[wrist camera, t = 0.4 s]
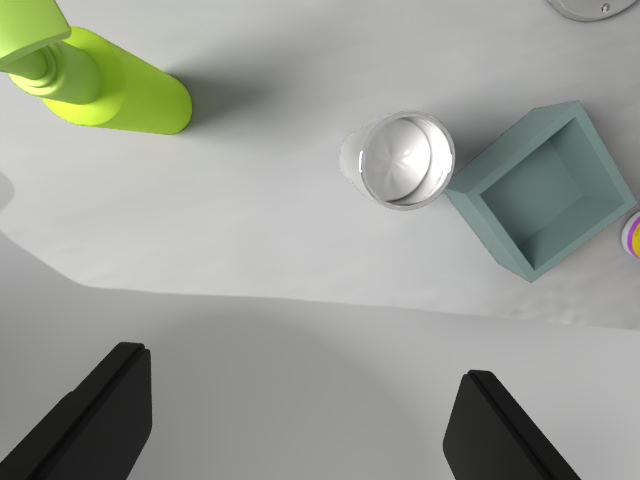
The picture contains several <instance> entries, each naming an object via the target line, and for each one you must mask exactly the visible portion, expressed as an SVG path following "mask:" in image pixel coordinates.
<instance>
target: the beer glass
mask: <svg viewBox="0 0 640 480" xmlns="http://www.w3.org/2000/svg"><path fill="white" fill-rule="evenodd" d="M338 162H339V166H340V169H341V171H342V173H343V174H344V176H345V177H346V178H347V179H349V180H350V181H351V182H352V184H353V185H354V187H355V188H356V189H357V190H358V191H359V192H360V193H361V194H362V195H363V196H365V197H366V198H368V199H369V200H371V201H373V202H375V203H377V204H380V205H383V206H385V207H387V208H390V209H393V210H399V211H408V210H414V209H418V208H421V207H423V206H425V205H427V204H429V203H430V202H432V201H433V200H434V199H436V198H437V197H438V196H439V195H440V194H441V193H442V192H443V190H444V189H445V188H446V186H447V185H448V183H449V181H450V179H451V176H452V174H453V170H454V165H455V148H454V144H453V140H452V138H451V136H450V134H449V132H448V130H447V129H446V127H445V126H444V125H443V124H442V123H441V122H440V121H439V120H437V119H436V118H435V117H433V116H431V115H429V114H427V113H424V112H419V111H402V112H397V113H390V114H386V115H382V116H379V117H377V118H374V119H372V120H371V121H369V122H367V123H366V124H365V125H363V126H362V127H361V128H360V129H359V130H357V131H355V132H353V133H351V134H350V135H349V136H347V137H346V139H345V140H344V141H343V143H342V144H341V147H340V150H339V154H338Z"/></svg>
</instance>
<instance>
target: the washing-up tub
mask: <svg viewBox="0 0 640 480" xmlns="http://www.w3.org/2000/svg"><path fill="white" fill-rule="evenodd" d="M443 192H444V193H445V194H446V196H447V197H448V198H449V200H450V201H451V202H452V204H453V205H454V206H455V207H456V209H457V210H458V211H459V213H460V214H461V215H462V217H463V218H464V219H465V221H466V222H467V223H468V225H469V226H470V227H471V228H472V230H473V231H474V232H475V234H476V235H477V236H478V238H479V239H480V240H481V242H482V243H483V244H484V246H485V247H486V248H487V250H488V251H489V252H490V253H491V255H492V256H493V257H494V259H495V260H496V261H497V263H498V264H499V265H501V266H503V267H505V268H506V269H508V270H510V271H511V272H513V273H515V274H517V275H518V276H520V277H522V278H523V279H525V280H527V281H529V282H530V283H532V282H534V281H535V280H536V279H538V278H539V277H540V276H542V275H543V274H544V273H546V272H547V271H548V270H550V269H551V268H552V267H554V266H555V265H556V264H558V263H559V262H560V261H562V260H563V259H564V258H566V257H567V256H568V255H570V254H571V253H572V252H574V251H575V250H576V249H578V248H579V247H580V246H582V245H583V244H584V243H586V242H587V241H588V240H590V239H591V238H593V237H594V236H595V235H597V234H598V233H599V232H601V231H602V230H603V229H605V228H606V227H607V226H609V225H610V224H611V223H613V222H614V221H615V220H617V219H618V218H619V217H621V216H622V215H623V214H625V213H626V212H627V211H629V210H630V209H631V208H633V207H634V206H635V205H637V204H638V203H637V201H636V199H635V198H634V196H633V194H632V192H631V190H630V189H629V187H628V185H627V183H626V182H625V180H624V178H623V176H622V175H621V173H620V171H619V169H618V168H617V166H616V164H615V162H614V161H613V159H612V157H611V155H610V153H609V152H608V150H607V148H606V146H605V145H604V143H603V141H602V139H601V138H600V136H599V134H598V132H597V131H596V129H595V127H594V125H593V124H592V122H591V120H590V118H589V117H588V115H587V113H586V111H585V109H584V108H583V106H582V104H581V102H580V101H573V102H568V103H562V104H556V105H551V106H545V107H539V108H534V109H533V110H531V111H530V112H529V113H528V114H527V115H525V116H524V117H523V118H522V119H521V120H519V121H518V122H517V123H516V124H515V125H514V126H512V127H511V128H510V129H509V130H508V131H506V132H505V133H504V134H503V135H502V136H500V137H499V138H498V139H497V140H496V141H494V142H493V143H492V144H491V145H490V146H489V147H487V148H486V149H485V150H484V151H483V152H481V153H480V154H479V155H478V156H477V157H475V158H474V159H473V160H472V161H471V162H469V163H468V164H467V165H466V166H465V167H463V168H462V169H461V170H460V171H459V172H458V173H456V174H455V175H454V176H453V177H452V178H451V179H450V181H449V183H448V185H447V186H446V188H445V189H444V190H443Z"/></svg>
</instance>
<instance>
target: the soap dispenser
mask: <svg viewBox="0 0 640 480" xmlns="http://www.w3.org/2000/svg"><path fill="white" fill-rule="evenodd" d="M0 71H1V72H5V73H7V74H8V76H9V77H10V79H11V80H12V81H13V82H14V84H15V85H16V86H18V87H19V88H20V89H21V90H23V91H24V92H26V93H28V94H30V95H33V96H36V97H40V98H41V99H42V100H43V102H44V103H45V104H46V105H47V106H48V107H49V108H50V109H51V110H52V111H53V112H54V113H55V114H57V115H58V116H59V117H61V118H63V119H64V120H66V121H69V122H71V123H74V124H77V125H82V126H91V127H100V128H110V129H119V130H128V131H137V132H146V133H155V134H165V135H170V134H175V133H178V132H180V131H181V130H183V129H184V128H185V127H186V126H187V124H188V123H189V121H190V119H191V116H192V101H191V97H190V95H189V93H188V91H187V89H186V88H185V87H184V85H183V84H182V83H181V82H179V81H178V80H177V79H175V78H174V77H172V76H170V75H168V74H166V73H165V72H163V71H161V70H159V69H158V68H156V67H154V66H152V65H150V64H149V63H147V62H145V61H143V60H142V59H140V58H138V57H136V56H134V55H133V54H131V53H129V52H127V51H126V50H124V49H122V48H120V47H118V46H117V45H115V44H113V43H111V42H109V41H108V40H106V39H104V38H102V37H101V36H99V35H97V34H95V33H93V32H91V31H89V30H87V29H84V28H81V27H76V26H69V24H68V23H67V21H66V19H65V17H64V15H63V14H62V12H61V10H60V8H59V7H58V5H57V3H56V1H55V0H0Z"/></svg>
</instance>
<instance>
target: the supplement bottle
mask: <svg viewBox="0 0 640 480" xmlns="http://www.w3.org/2000/svg"><path fill="white" fill-rule="evenodd" d="M621 240H622V245H623V247H624V249H625V250H626V251H627V252H628V253H629V254H630V255H632V256H635V257H637V258H640V211H639V212H637V213H636V214H634V215H633V216H632V217H631V218H630V219H629V220H628V221H627V223H626V224H625V226H624V229H623V231H622V237H621Z"/></svg>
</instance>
